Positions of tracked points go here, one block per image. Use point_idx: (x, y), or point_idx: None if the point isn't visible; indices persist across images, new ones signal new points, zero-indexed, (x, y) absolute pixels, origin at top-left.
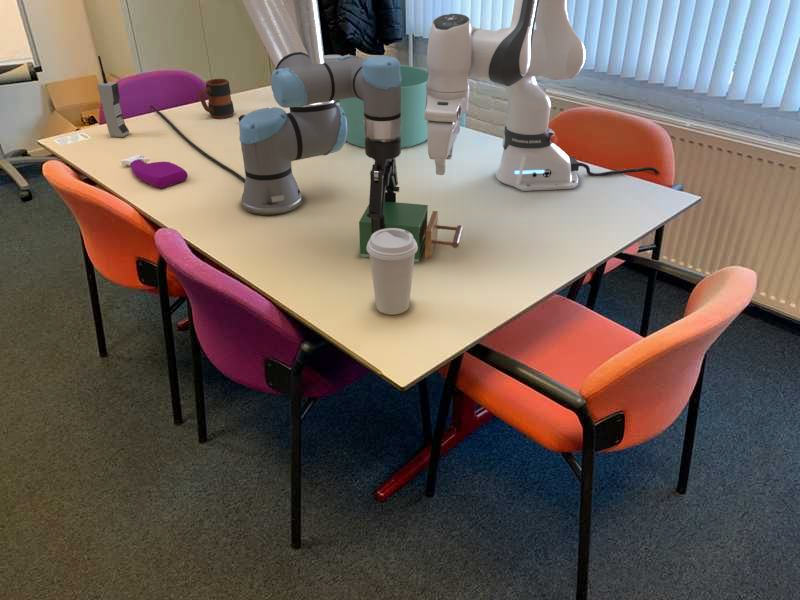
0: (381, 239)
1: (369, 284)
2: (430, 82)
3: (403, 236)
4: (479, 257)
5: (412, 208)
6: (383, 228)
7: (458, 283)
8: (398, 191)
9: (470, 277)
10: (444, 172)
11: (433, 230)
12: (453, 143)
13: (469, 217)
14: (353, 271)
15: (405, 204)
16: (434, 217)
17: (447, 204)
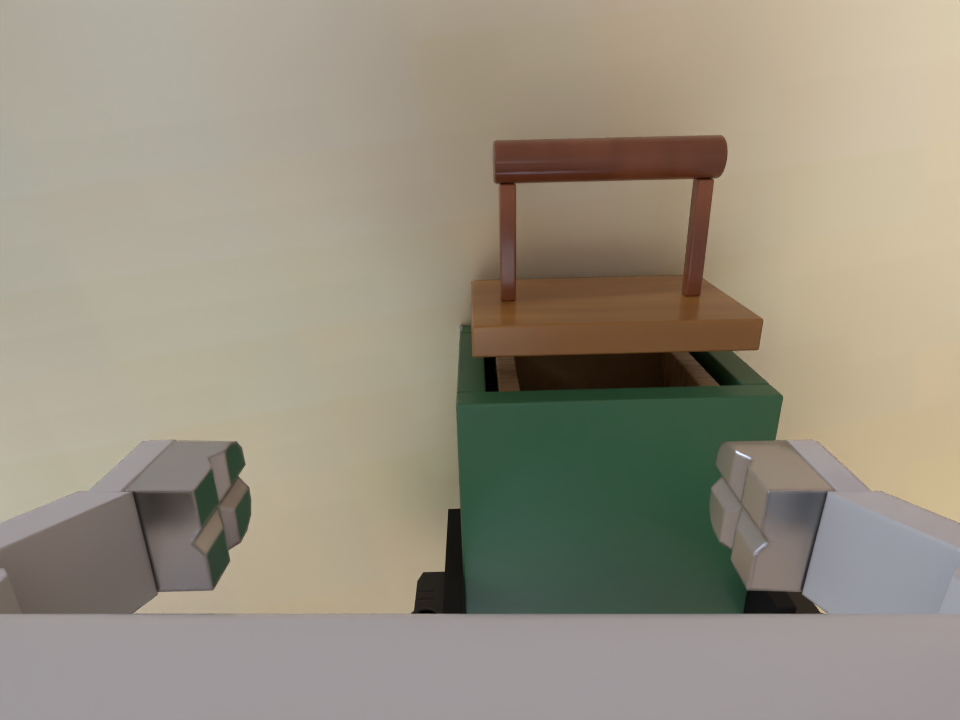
0: None
1: (883, 464)
2: None
3: None
4: (611, 15)
5: (529, 478)
6: None
7: (887, 97)
8: (437, 611)
9: (829, 40)
10: (800, 445)
11: (652, 308)
12: (461, 630)
13: (142, 143)
14: None
15: (481, 523)
16: (570, 332)
17: (34, 292)
